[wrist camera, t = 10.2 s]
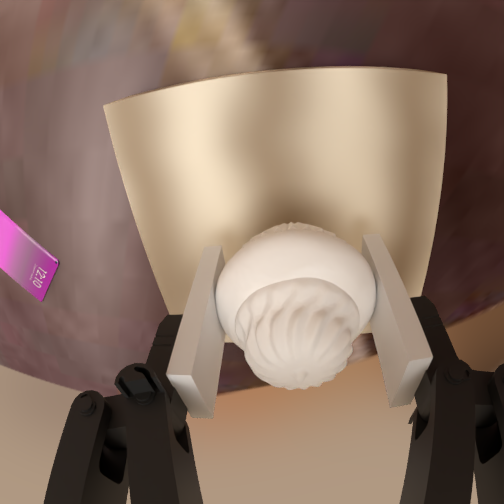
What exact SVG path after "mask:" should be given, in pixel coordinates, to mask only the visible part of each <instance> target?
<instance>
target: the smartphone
mask: <svg viewBox="0 0 504 504" xmlns="http://www.w3.org/2000/svg"><path fill="white" fill-rule="evenodd" d="M58 266H59V260H58V259H57V258H56V257H54V256H53V255H52V254H51V253H49V252H48V251H47V250H46V249H44V248H43V247H42V246H41V245H40V244H38V243H37V242H36V241H35V240H34V239H33V238H31V237H30V236H29V235H28V234H27V233H26V232H24V231H23V230H22V229H21V228H20V227H19V226H18V225H16V224H15V223H14V222H13V221H12V220H11V219H10V218H9V217H7V216H6V215H5V214H4V213H3V212H2V211H1V210H0V268H1V269H2V270H4V271H5V272H6V273H7V274H8V275H9V276H10V277H12V278H13V279H14V280H15V281H16V282H17V283H19V284H20V285H21V286H22V287H23V288H24V289H26V290H27V291H28V292H29V293H31V294H32V295H33V296H34V297H36V298H37V299H38V300H39V301H41V302H42V301H43V299H44V297H45V294H46V292H47V290H48V287H49V285H50V283H51V281H52V279H53V276H54V274H55V272H56V270H57V268H58Z"/></svg>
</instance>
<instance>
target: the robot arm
mask: <svg viewBox="0 0 504 504" xmlns="http://www.w3.org/2000/svg"><path fill="white" fill-rule="evenodd" d="M361 254H362V255H363V256H364V258H365V259H366V260H367V262H368V263H369V265H370V267H371V269H372V272H373V275H374V279H375V284H376V304H375V308H374V312H373V314H372V316H371V319H370V320H369V322H370V326H371V330H372V333H373V337H374V341H375V345H376V349H377V353H378V357H379V361H380V365H381V369H382V374H383V378H384V382H385V387H386V392H387V396H388V400H389V406H390V408H391V407H397V406H402V405H408V404H411V402H412V400H413V398H414V396H415V399H416V404H417V407H416V409H415V411H414V413H413V414H412V416H411V417H410V420H409V424H411V423H412V422H413V428H412V436H411V443H410V450H409V457H408V463H407V469H406V475H405V480H404V486H403V490H402V495H401V500H400V504H470V500H471V493H472V483H473V473H474V474H475V480H476V488H477V496H478V504H504V364H502V365H500V366H499V367H498V368H497V369H496V371H495V372H484V371H476V370H472V369H471V368H470V367H469V365H468V364H467V363H465V362H464V361H462V360H459V359H458V357H457V355H456V353H455V350H454V348H453V346H452V343H451V341H450V339H449V336H448V334H447V332H446V329H445V327H444V326H443V323H442V321H441V318H440V317H439V314H438V312H437V310H436V308H435V306H434V304H433V303H432V302H431V301H430V300H429V299H428V298H426V297H425V296H419V297H411V298H409V295H408V293H407V291H406V288H405V286H404V284H403V282H402V280H401V277H400V275H399V273H398V271H397V269H396V267H395V264H394V262H393V260H392V258H391V256H390V254H389V252H388V250H387V248H386V246H385V244H384V242H383V240H382V238H381V236H380V234H366V235H363V237H362V252H361ZM225 265H226V264H225V259H224V255H223V250H222V245H220V246H208V247H204V250H203V253H202V256H201V259H200V262H199V265H198V268H197V271H196V275H195V278H194V281H193V284H192V287H191V291H190V294H189V297H188V300H187V304H186V307H185V310H184V314H179V315H167V316H166V317H165V318H164V320H163V321H162V322H161V323H160V324H159V327H158V330H157V332H156V338H154V341H153V346H152V347H151V350H150V353H149V356H148V359H147V362H146V364H143V363H134V364H131V365H129V366H126V367H125V368H124V369H122V370H121V371H120V372H119V374H118V375H117V377H116V379H115V383H114V384H115V385H116V387H117V388H118V389H119V391H120V392H121V393H122V394H120V395H115V396H110V397H103V396H102V395H101V394H100V393H99V392H96V391H93V390H90V391H85V392H83V393H81V394H79V395H78V396H77V397H76V398H75V400H74V401H73V403H72V405H71V409H70V411H69V414H68V417H67V420H66V424H65V427H64V430H63V433H62V436H61V440H60V443H59V447H58V449H57V453H56V457H55V460H54V464H53V467H52V471H51V475H50V479H49V483H48V487H47V491H46V495H45V500H44V504H126V500H127V494H128V488H130V499H131V504H203V500H202V496H201V492H200V486H199V481H198V476H197V471H196V466H195V461H194V455H193V449H192V444H191V438H190V432H189V427H188V425H187V422H186V421H185V420H186V415H187V411H188V412H189V414H190V415H191V417H193V418H213V414H214V408H215V400H216V394H217V388H218V381H219V374H220V368H221V361H222V355H223V348H224V342H225V335H226V332H225V331H224V329H223V328H222V325H221V323H220V321H219V318H218V314H217V309H216V302H215V293H216V286H217V282H218V279H219V276H220V274H221V272H222V270H223V268H224V267H225Z"/></svg>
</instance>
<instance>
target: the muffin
mask: <svg viewBox="0 0 504 504" xmlns="http://www.w3.org/2000/svg"><path fill="white" fill-rule="evenodd" d="M215 302H216V309H217V314H218V318H219V321H220V323H221V325H222V328H223V329H224V331H225V332H226V334H227V335H228V336H229V337H230V339H231V340H232V341H233V342H234V343H235V344H236V345H237V346H239V347H240V348H241V349H242V350H243V351H244V352H245V359H246V361H247V363H248V364H249V365H250V367H251V369H252V371H253V372H254V374H255V375H256V376H257V377H259V378H260V379H261V380H263V381H265V382H268V383H269V384H270V385H272V386H274V387H285V388H286V389H288V390H292V389H296V388H301V389H307V388H308V387H310V386H315V387H319V386H320V385H321V384H322V382H327V381H331V380H333V379H334V378H335V376H336V374H337V373H338V372H341V371H342V370H343V369H344V368H345V367H346V365H347V359H348V357H349V356H350V355H351V354H352V352H353V348H352V342H353V341H354V340H355V339H356V338H357V337H358V336H359V335H360V333H361V332H362V331H363V329H364V328H365V327H366V325H367V324H368V322H369V320H370V319H371V316H372V314H373V312H374V308H375V304H376V284H375V279H374V275H373V272H372V269H371V267H370V265H369V263H368V262H367V260H366V259H365V258H364V256H363V255H362V254H361V253H360V252H359V251H358V250H357V249H355V248H354V247H353V246H351V245H349V244H348V243H346V241H345V240H342V239H340V238H337V237H336V234H335V233H332V232H329V231H326V230H323V229H322V228H320V227H316V226H313V225H309V224H303V223H300V222H297V223H295V224H294V223H292V222H290V223H289V224H286V223H283V224H281V225H276V226H274V227H272V228H270V229H267V230H265V231H263V232H262V233H260V234H258V235H256V236H254V237H252V238H251V239H250V241H248V242H247V243H245V244H243V245H242V248H241V249H240V250H239V251H238V252H237V253H235V254H234V256H233V257H232V258H231V259H230V260H229V261H228V262H227V264H226V265H225V267H224V268H223V270H222V272H221V274H220V276H219V279H218V282H217V286H216V293H215Z"/></svg>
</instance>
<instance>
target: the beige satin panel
mask: <svg viewBox="0 0 504 504" xmlns="http://www.w3.org/2000/svg"><path fill="white" fill-rule="evenodd" d="M103 107H104V111H105V115H106V120H107V124H108V128H109V132H110V136H111V140H112V143H113V147H114V151H115V155H116V158H117V162H118V166H119V169H120V173H121V176H122V179H123V183H124V186H125V190H126V193H127V196H128V199H129V203H130V206H131V209H132V212H133V215H134V218H135V221H136V224H137V227H138V230H139V233H140V236H141V239H142V242H143V245H144V248H145V251H146V253H147V256H148V259H149V262H150V265H151V267H152V270H153V273H154V275H155V278H156V281H157V283H158V286H159V289H160V291H161V294H162V296H163V299H164V301H165V304H166V306H167V309H168V311H169V314H170V315H179V314H184V310H185V307H186V304H187V300H188V297H189V294H190V291H191V287H192V284H193V281H194V278H195V275H196V271H197V268H198V265H199V262H200V259H201V256H202V253H203V250H204V247H208V246H220V245H222V250H223V255H224V259H225V264H227V262H228V261H229V260H230V259H231V258H232V257H233V256H234V254H235V253H237V252H238V251H239V250H240V249H241V248H242V245H243V244H245V243H247V242H248V241H250V239H251V238H252V237H254V236H256V235H258V234H260V233H262V232H263V231H265V230H267V229H270V228H272V227H274V226H276V225H281V224H283V223H286V224H289V223H290V222H292V223H294V224H295V223H297V222H300V223H303V224H309V225H313V226H316V227H320V228H322V229H323V230H326V231H329V232H332V233H335V234H336V237H337V238H340V239H342V240H345V241H346V243H348V244H349V245H351V246H353V247H354V248H355V249H357V250H358V251H359V252H360V253H361V252H362V237H363V235H366V234H380V236H381V238H382V240H383V242H384V244H385V246H386V248H387V250H388V252H389V254H390V256H391V258H392V260H393V262H394V264H395V267H396V269H397V271H398V273H399V275H400V277H401V280H402V282H403V284H404V286H405V288H406V291H407V293H408V295H409V298H411V297H419V296H421V293H422V289H423V285H424V281H425V277H426V272H427V268H428V263H429V259H430V254H431V249H432V244H433V239H434V233H435V228H436V222H437V216H438V209H439V202H440V195H441V187H442V178H443V169H444V158H445V144H446V126H447V74H441V73H436V72H430V71H425V70H418V69H406V68H391V67H367V66H328V67H303V68H288V69H276V70H265V71H256V72H248V73H240V74H233V75H226V76H220V77H213V78H208V79H202V80H197V81H191V82H186V83H181V84H177V85H172V86H168V87H163V88H159V89H155V90H151V91H147V92H143V93H139V94H135V95H132V96H128V97H125V98H123V99H120V100H117V101H114V102H112V103H109V104H106V105H104V106H103ZM371 332H372V330H371V326H370V322H368V324H367V325H366V327H365V328H364V329H363V331H362V332H361V333H360V334H362V333H371ZM225 342H233V341H232V340H231V339H230V337H229V336H228V335H227V334H226V335H225Z"/></svg>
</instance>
